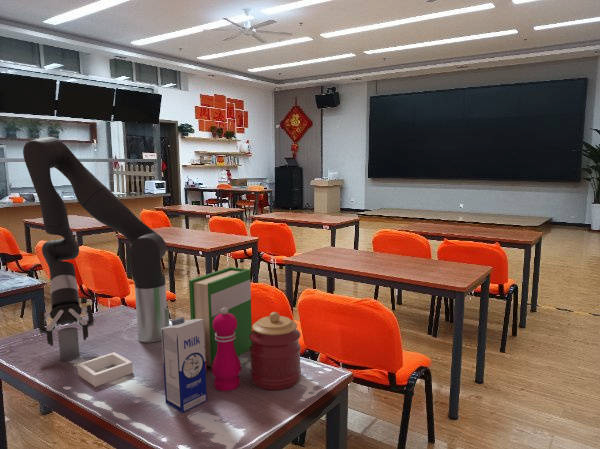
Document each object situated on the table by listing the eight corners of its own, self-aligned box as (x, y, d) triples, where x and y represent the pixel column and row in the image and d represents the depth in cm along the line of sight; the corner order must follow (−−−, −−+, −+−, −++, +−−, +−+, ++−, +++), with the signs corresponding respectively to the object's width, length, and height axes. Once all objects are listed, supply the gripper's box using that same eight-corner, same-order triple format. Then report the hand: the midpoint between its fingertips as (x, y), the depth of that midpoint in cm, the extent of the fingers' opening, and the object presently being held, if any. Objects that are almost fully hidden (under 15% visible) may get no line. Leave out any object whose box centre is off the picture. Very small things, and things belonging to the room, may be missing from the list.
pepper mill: (236, 393, 109) (233, 313, 106) (207, 390, 110) (204, 311, 108) (245, 379, 116) (243, 303, 113) (218, 377, 117) (215, 302, 115)
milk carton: (181, 413, 100) (177, 326, 98) (164, 403, 105) (159, 320, 102) (207, 400, 106) (204, 318, 103) (190, 391, 110) (186, 312, 107)
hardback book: (214, 371, 121) (210, 283, 118) (193, 365, 124) (188, 280, 121) (252, 347, 136) (250, 269, 133) (232, 343, 140) (230, 266, 136)
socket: (114, 362, 127) (114, 352, 127) (132, 372, 120) (132, 362, 120) (78, 374, 120) (77, 364, 119) (95, 386, 113) (94, 375, 113)
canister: (311, 377, 117) (310, 311, 114) (276, 397, 107) (274, 325, 105) (275, 363, 125) (274, 301, 123) (239, 380, 115) (237, 313, 113)
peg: (79, 352, 134) (77, 326, 133) (80, 358, 130) (77, 331, 129) (60, 355, 132) (57, 329, 131) (60, 362, 128) (57, 334, 127)
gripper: (36, 290, 133) (39, 341, 124) (89, 283, 139) (95, 331, 131) (38, 303, 138) (41, 352, 129) (90, 296, 145) (95, 342, 136)
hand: (68, 341), depth 130 cm, fingers open, 8 cm apart
